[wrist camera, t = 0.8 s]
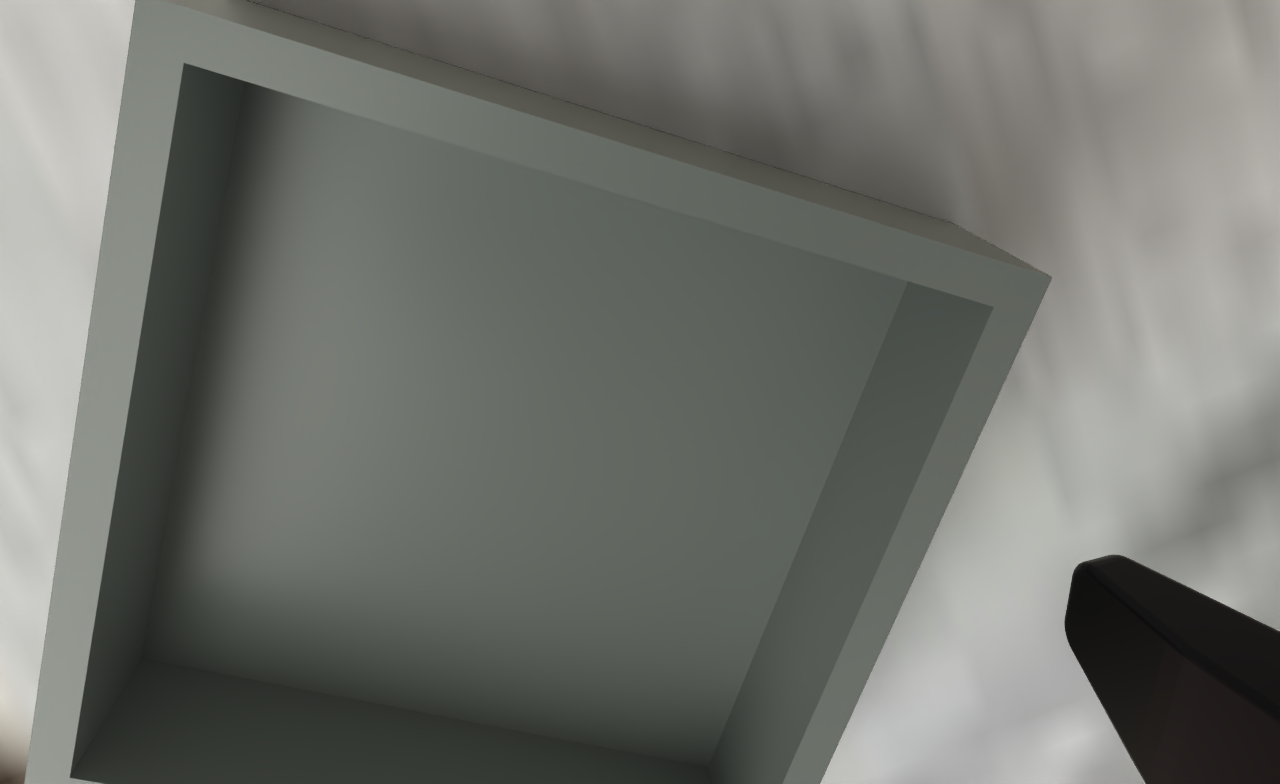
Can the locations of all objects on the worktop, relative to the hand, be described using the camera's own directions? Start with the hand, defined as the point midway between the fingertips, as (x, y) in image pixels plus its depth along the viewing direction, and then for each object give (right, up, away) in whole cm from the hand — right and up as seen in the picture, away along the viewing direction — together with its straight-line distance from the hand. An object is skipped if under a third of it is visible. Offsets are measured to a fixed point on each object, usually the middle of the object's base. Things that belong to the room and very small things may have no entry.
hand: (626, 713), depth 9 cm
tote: (-3, +2, +14) cm, 14 cm away
